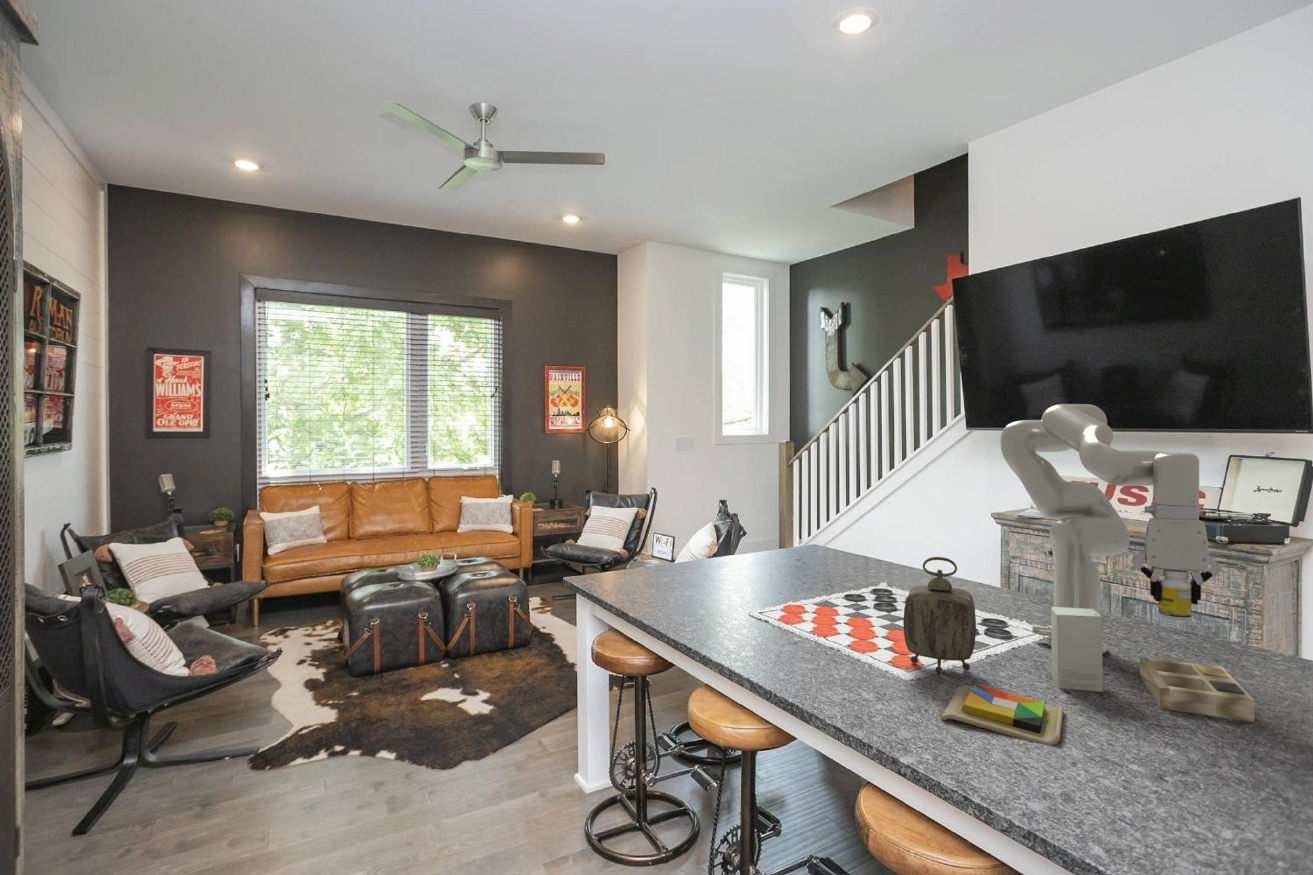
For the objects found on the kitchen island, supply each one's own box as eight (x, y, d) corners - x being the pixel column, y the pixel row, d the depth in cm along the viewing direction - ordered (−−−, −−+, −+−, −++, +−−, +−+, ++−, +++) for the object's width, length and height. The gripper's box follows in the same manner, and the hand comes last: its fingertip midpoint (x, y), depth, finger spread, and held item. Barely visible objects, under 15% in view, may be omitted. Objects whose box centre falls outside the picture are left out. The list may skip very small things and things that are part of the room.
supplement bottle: (1152, 613, 143) (1152, 566, 143) (1178, 614, 143) (1179, 567, 143) (1170, 621, 138) (1171, 572, 137) (1198, 621, 137) (1198, 572, 137)
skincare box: (1095, 682, 143) (1095, 608, 143) (1104, 694, 137) (1104, 616, 137) (1049, 677, 146) (1050, 605, 146) (1056, 689, 140) (1057, 613, 139)
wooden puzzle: (1059, 750, 114) (1059, 729, 114) (939, 724, 125) (939, 705, 125) (1063, 713, 129) (1063, 695, 129) (955, 693, 139) (955, 675, 139)
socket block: (1160, 708, 130) (1160, 685, 130) (1139, 675, 147) (1139, 655, 147) (1254, 721, 124) (1254, 698, 124) (1221, 686, 141) (1221, 665, 141)
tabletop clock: (975, 669, 151) (976, 556, 151) (975, 683, 143) (976, 563, 143) (906, 660, 157) (906, 551, 157) (902, 672, 149) (902, 558, 149)
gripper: (1128, 513, 140) (1128, 601, 140) (1234, 517, 133) (1233, 610, 133) (1122, 509, 147) (1121, 593, 147) (1222, 513, 140) (1221, 601, 140)
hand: (1174, 600), depth 140 cm, fingers closed on supplement bottle, 5 cm apart
